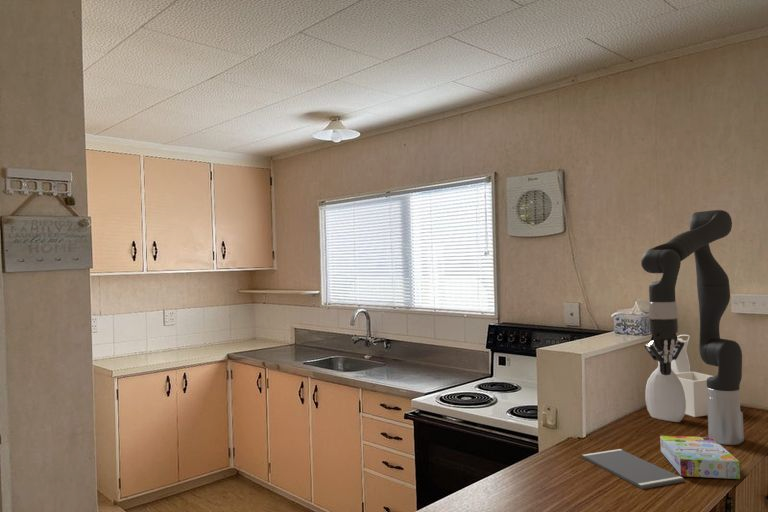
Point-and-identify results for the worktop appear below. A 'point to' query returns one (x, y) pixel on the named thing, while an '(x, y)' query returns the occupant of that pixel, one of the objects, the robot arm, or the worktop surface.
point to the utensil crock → (695, 392)
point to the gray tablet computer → (632, 468)
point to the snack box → (699, 457)
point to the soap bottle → (665, 396)
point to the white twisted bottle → (681, 359)
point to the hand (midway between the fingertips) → (665, 374)
